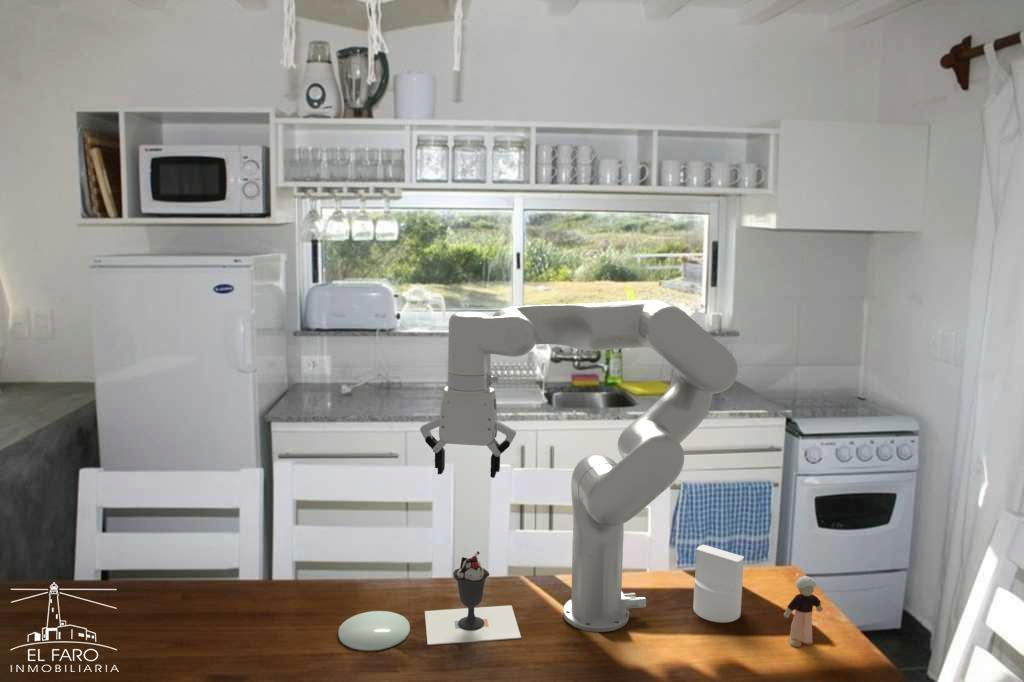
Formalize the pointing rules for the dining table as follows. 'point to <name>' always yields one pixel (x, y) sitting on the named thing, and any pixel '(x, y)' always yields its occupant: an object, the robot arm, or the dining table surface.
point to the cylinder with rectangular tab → (718, 584)
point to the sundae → (470, 590)
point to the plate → (374, 630)
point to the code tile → (447, 630)
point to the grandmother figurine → (802, 612)
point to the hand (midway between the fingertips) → (467, 473)
